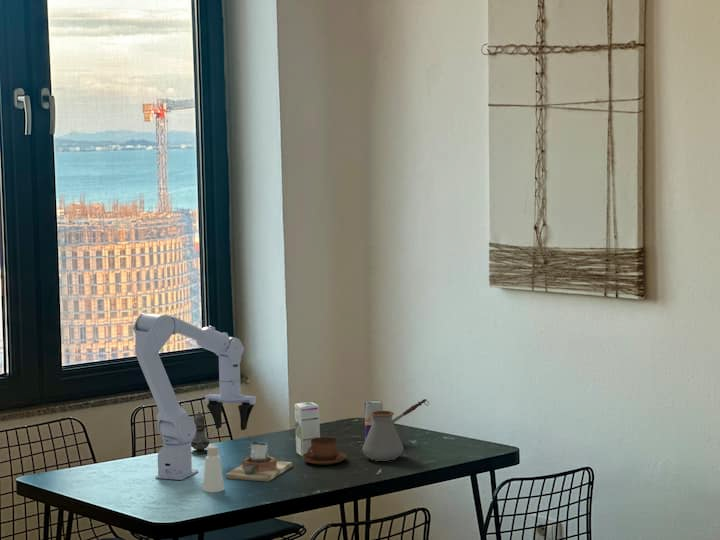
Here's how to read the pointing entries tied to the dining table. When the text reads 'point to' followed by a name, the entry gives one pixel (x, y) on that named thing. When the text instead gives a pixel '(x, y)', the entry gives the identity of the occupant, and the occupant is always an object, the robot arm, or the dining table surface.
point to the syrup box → (306, 426)
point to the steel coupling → (259, 452)
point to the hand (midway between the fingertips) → (231, 428)
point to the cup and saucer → (324, 452)
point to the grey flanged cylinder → (199, 436)
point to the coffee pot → (385, 436)
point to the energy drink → (369, 408)
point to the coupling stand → (259, 470)
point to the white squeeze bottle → (213, 471)
